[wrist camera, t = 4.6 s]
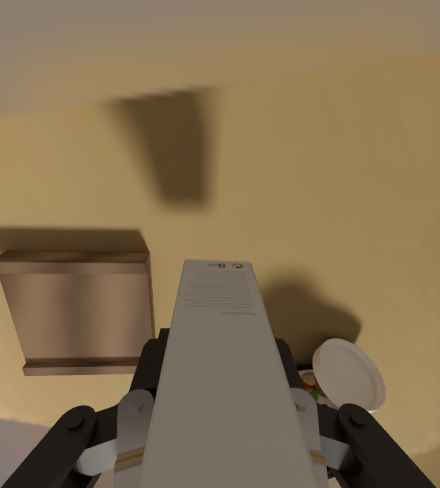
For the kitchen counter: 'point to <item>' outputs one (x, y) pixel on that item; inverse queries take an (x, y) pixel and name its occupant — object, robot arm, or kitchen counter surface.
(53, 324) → the board
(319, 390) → the spread jar
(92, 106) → the kitchen counter surface
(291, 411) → the skincare box
